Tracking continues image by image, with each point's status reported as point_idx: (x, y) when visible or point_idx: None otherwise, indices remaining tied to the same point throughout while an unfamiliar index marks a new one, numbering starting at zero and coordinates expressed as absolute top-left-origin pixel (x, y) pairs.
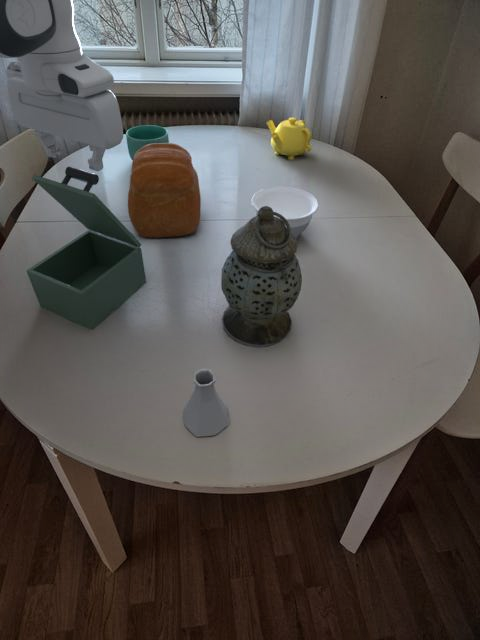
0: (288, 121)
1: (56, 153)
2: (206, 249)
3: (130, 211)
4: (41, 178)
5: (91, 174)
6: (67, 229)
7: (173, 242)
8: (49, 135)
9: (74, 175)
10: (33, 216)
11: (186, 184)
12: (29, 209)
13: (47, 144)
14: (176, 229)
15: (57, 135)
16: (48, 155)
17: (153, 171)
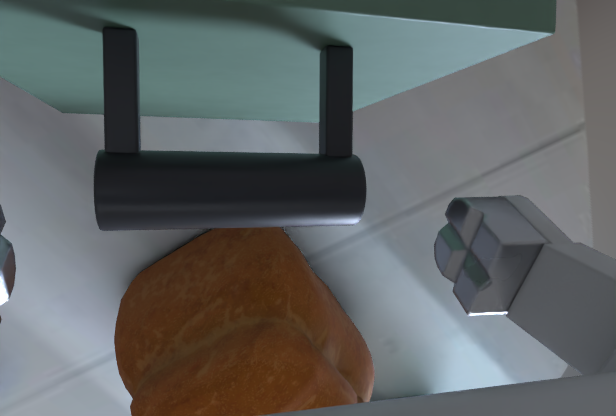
0: None
1: (459, 247)
2: (53, 252)
3: (286, 259)
4: (476, 12)
5: (118, 206)
6: (457, 153)
7: (159, 235)
8: (585, 367)
9: (274, 161)
10: (566, 157)
11: (135, 411)
12: (587, 175)
13: (556, 275)
14: (159, 271)
15: (397, 408)
16: (511, 200)
17: (234, 408)
